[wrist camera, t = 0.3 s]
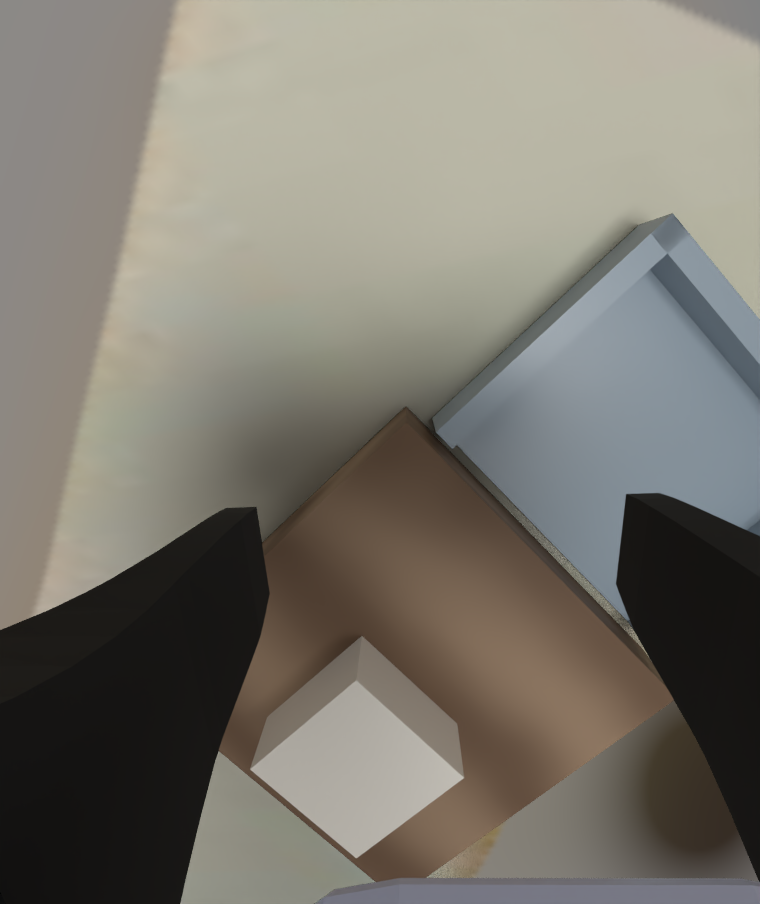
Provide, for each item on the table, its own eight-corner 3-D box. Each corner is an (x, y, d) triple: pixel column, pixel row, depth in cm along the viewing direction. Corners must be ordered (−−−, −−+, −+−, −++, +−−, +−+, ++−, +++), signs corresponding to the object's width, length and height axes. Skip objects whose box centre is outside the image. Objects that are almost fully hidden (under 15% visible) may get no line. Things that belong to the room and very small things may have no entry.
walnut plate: (396, 833, 26) (395, 898, 23) (165, 634, 24) (133, 679, 21) (643, 649, 23) (676, 698, 20) (405, 406, 21) (406, 422, 18)
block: (361, 797, 22) (356, 858, 20) (267, 716, 21) (250, 769, 19) (457, 723, 21) (464, 777, 19) (362, 635, 20) (356, 680, 18)
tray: (635, 627, 23) (662, 665, 21) (432, 417, 21) (435, 432, 19) (843, 469, 21) (899, 490, 19) (639, 224, 19) (672, 213, 17)
